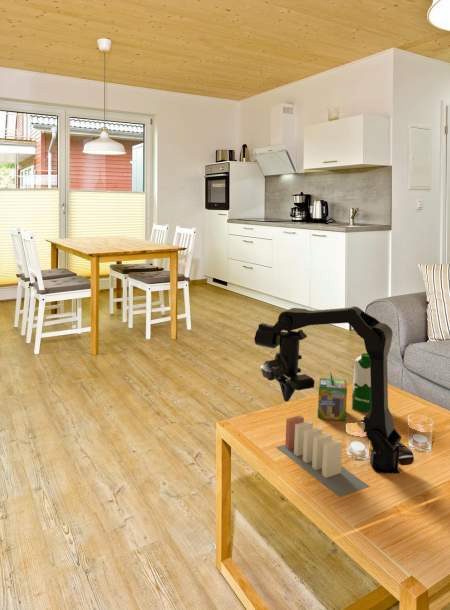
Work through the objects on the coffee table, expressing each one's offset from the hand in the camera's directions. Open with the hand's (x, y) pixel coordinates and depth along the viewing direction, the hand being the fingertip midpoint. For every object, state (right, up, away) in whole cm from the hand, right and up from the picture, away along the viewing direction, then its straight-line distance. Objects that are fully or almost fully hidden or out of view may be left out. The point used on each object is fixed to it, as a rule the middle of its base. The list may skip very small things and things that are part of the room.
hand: (286, 401), depth 151 cm
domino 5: (+10, -16, -17) cm, 26 cm away
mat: (+8, -16, -13) cm, 22 cm away
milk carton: (+31, -8, +26) cm, 41 cm away
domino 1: (+2, -13, -3) cm, 13 cm away
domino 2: (+4, -14, -6) cm, 16 cm away
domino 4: (+8, -15, -14) cm, 22 cm away
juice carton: (+18, -9, +20) cm, 28 cm away
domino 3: (+6, -14, -10) cm, 19 cm away
